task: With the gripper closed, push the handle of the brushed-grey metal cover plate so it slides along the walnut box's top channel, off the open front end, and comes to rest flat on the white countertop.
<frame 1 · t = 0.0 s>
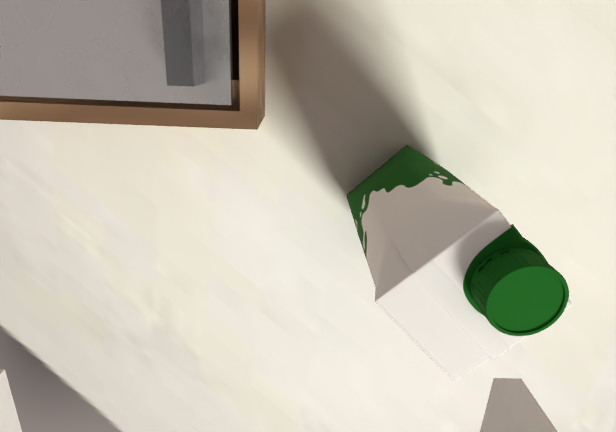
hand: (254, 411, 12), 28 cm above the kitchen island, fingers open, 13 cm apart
milk carton: (397, 196, 39), on the kitchen island
cover plate: (102, 14, 28), point 6 cm above the kitchen island, touching box
box: (138, 20, 33), on the kitchen island
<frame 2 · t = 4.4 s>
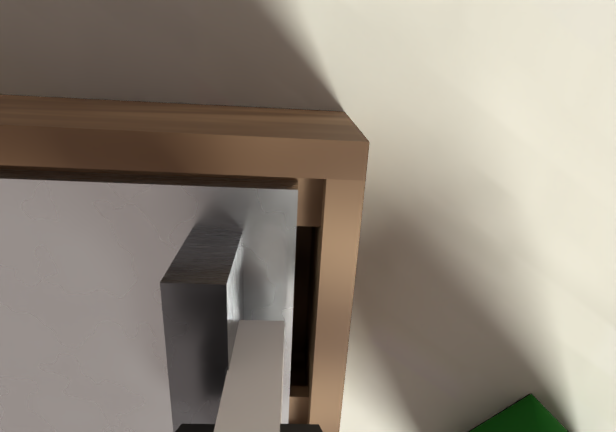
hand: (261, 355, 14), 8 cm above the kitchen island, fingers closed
cover plate: (62, 312, 15), point 6 cm above the kitchen island, touching gripper
box: (135, 243, 21), on the kitchen island
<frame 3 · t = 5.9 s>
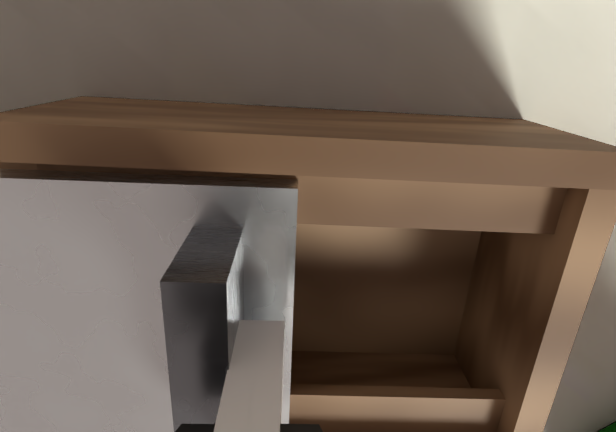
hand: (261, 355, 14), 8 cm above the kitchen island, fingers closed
cover plate: (63, 311, 15), point 6 cm above the kitchen island, touching gripper
box: (300, 248, 21), on the kitchen island
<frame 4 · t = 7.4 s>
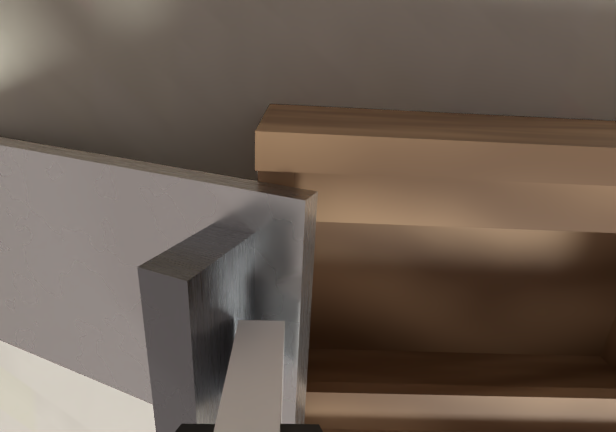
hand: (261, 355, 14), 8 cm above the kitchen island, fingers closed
cover plate: (127, 279, 18), point 3 cm above the kitchen island, tilted 24°, touching box
box: (459, 251, 22), on the kitchen island
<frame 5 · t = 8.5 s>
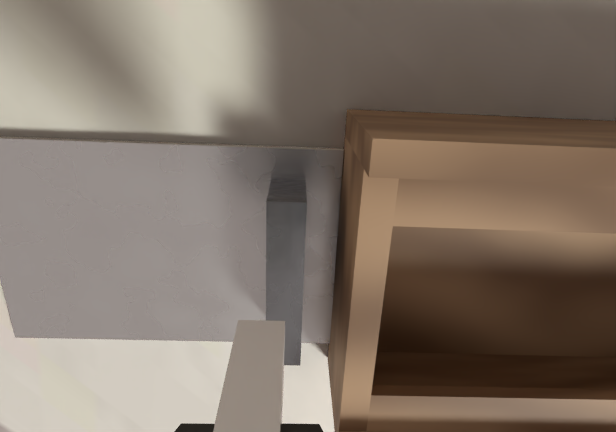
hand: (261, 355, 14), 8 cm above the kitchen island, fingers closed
cover plate: (172, 242, 22), on the kitchen island
box: (526, 254, 22), on the kitchen island
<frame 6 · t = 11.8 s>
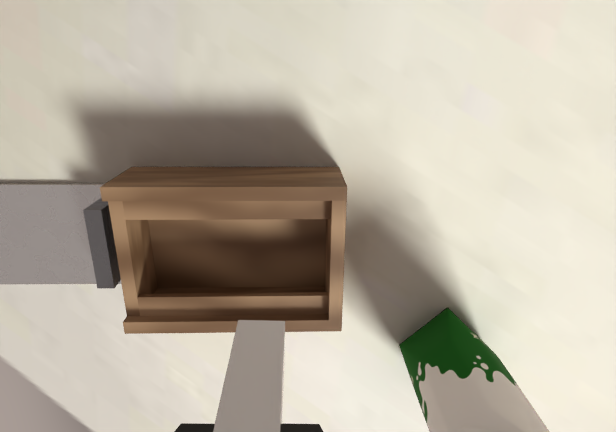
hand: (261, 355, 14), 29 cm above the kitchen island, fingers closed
milk carton: (440, 343, 49), on the kitchen island
cover plate: (58, 232, 43), on the kitchen island
box: (239, 233, 43), on the kitchen island
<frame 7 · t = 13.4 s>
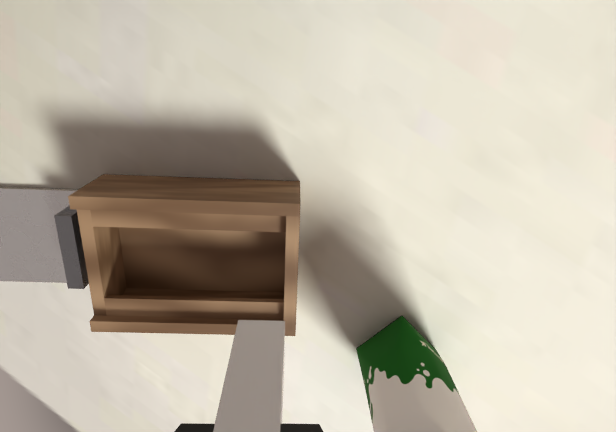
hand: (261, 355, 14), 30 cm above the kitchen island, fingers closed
milk carton: (395, 348, 51), on the kitchen island
cover plate: (33, 233, 45), on the kitchen island
box: (205, 239, 45), on the kitchen island
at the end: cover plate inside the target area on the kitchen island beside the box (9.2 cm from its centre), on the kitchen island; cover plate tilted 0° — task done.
